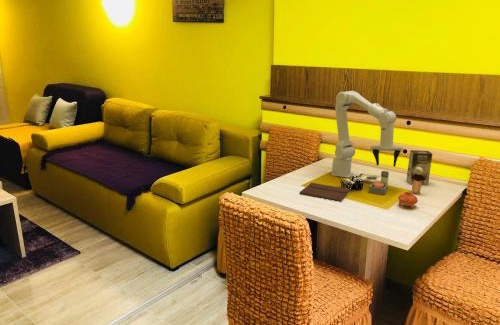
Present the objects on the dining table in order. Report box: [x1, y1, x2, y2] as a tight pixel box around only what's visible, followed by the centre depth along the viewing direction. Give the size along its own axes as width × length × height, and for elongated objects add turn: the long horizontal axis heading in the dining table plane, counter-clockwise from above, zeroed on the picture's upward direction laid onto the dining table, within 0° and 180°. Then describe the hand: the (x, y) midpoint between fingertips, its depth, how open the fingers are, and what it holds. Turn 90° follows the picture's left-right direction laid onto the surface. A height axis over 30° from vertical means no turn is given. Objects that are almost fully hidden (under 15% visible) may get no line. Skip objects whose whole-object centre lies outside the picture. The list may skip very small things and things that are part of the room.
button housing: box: [368, 183, 389, 196], centre depth 192 cm, size 7×7×3 cm
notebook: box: [299, 182, 352, 203], centre depth 190 cm, size 15×20×2 cm
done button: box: [374, 182, 384, 188], centre depth 191 cm, size 4×4×2 cm
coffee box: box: [405, 149, 433, 186], centre depth 202 cm, size 9×6×16 cm
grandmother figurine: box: [409, 167, 427, 195], centre depth 189 cm, size 8×4×13 cm, turn 62°
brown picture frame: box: [357, 172, 381, 185], centre depth 209 cm, size 14×12×1 cm
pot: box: [397, 191, 419, 209], centre depth 174 cm, size 8×8×7 cm
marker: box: [380, 170, 390, 185], centre depth 196 cm, size 3×3×8 cm
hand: (386, 165), depth 195 cm, fingers open, 7 cm apart
